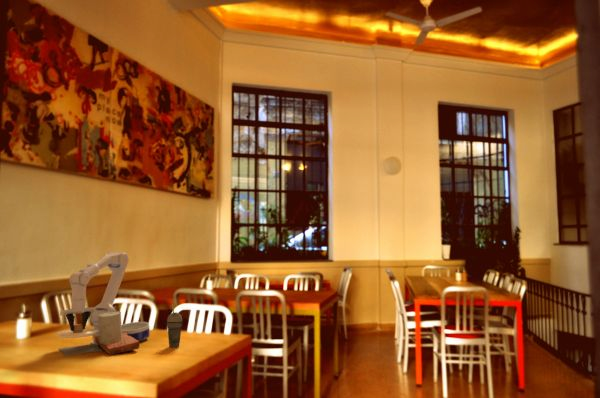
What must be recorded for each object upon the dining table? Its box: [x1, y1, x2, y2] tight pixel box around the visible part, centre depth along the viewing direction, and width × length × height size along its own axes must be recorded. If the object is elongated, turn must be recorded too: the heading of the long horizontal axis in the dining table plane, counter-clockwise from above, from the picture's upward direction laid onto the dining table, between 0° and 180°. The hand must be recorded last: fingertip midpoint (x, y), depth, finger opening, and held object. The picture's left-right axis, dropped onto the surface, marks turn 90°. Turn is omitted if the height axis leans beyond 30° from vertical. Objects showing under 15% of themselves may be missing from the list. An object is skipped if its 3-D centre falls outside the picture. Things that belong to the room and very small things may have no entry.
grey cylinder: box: [98, 310, 122, 344], centre depth 206 cm, size 10×10×12 cm
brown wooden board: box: [92, 332, 140, 356], centre depth 208 cm, size 13×30×3 cm, turn 37°
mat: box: [58, 343, 103, 357], centre depth 202 cm, size 15×15×1 cm
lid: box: [55, 323, 99, 339], centre depth 202 cm, size 17×17×4 cm
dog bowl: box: [121, 321, 150, 342], centre depth 225 cm, size 15×15×6 cm
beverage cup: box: [166, 302, 183, 349], centre depth 211 cm, size 7×7×20 cm
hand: (77, 330), depth 202 cm, fingers closed on lid, 4 cm apart
